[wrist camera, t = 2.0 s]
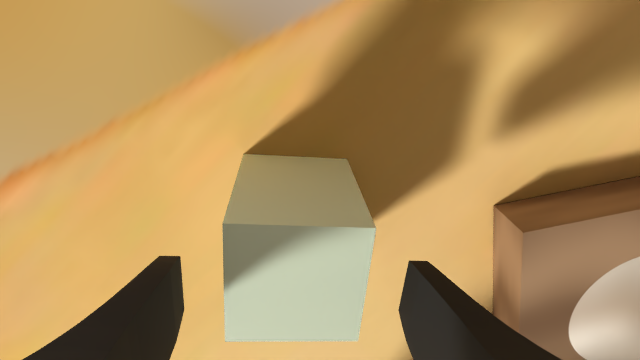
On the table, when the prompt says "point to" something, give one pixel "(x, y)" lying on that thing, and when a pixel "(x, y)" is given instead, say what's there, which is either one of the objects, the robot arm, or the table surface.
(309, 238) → the block
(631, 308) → the plinth
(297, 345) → the table surface
